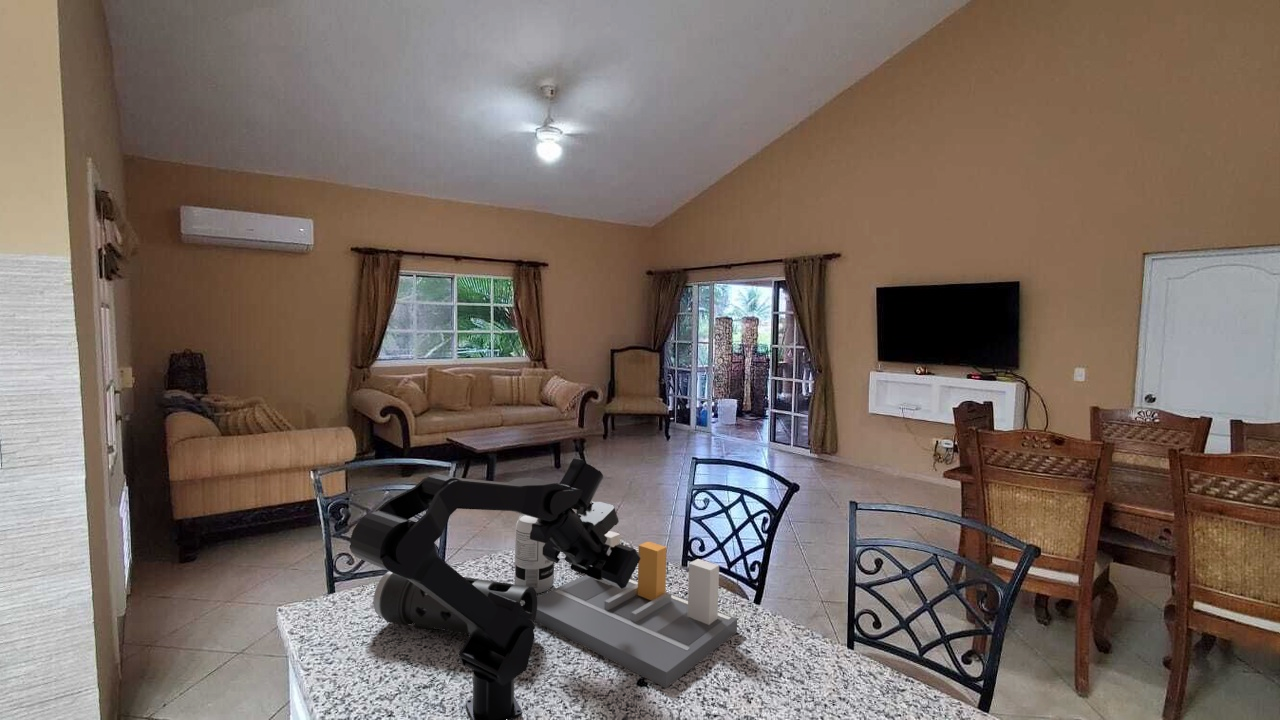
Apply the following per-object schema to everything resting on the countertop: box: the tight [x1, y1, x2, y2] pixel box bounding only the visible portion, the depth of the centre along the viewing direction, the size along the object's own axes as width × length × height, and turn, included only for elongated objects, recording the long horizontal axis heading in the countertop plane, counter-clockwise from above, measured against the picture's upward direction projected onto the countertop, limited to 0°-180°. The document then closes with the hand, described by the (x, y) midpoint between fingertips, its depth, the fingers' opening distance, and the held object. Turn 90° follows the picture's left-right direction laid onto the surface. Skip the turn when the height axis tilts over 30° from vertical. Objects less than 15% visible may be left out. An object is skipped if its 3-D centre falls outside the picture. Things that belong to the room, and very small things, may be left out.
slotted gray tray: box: [523, 530, 738, 689], centre depth 105 cm, size 22×34×12 cm, turn 51°
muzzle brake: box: [372, 570, 538, 636], centre depth 100 cm, size 10×28×10 cm, turn 76°
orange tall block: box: [637, 541, 668, 601], centre depth 110 cm, size 3×5×10 cm, turn 51°
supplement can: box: [514, 514, 555, 595], centre depth 119 cm, size 8×8×15 cm
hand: (611, 578), depth 101 cm, fingers closed
